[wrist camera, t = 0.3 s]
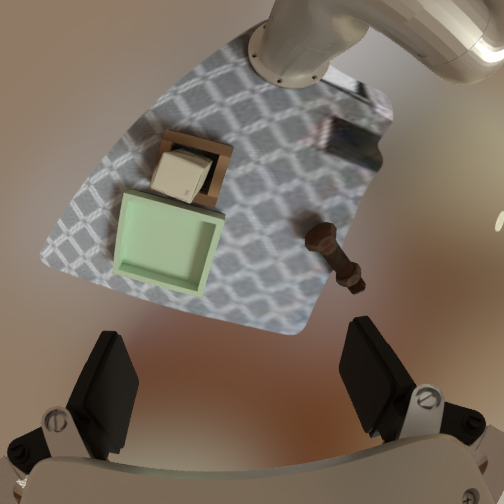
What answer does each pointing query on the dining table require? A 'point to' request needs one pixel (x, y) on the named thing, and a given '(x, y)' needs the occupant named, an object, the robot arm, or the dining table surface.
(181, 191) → the box
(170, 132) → the frame
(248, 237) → the dining table surface
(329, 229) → the bolt
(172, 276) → the tray
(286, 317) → the dining table surface
